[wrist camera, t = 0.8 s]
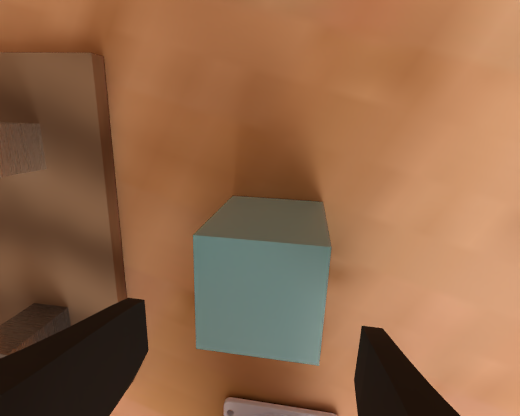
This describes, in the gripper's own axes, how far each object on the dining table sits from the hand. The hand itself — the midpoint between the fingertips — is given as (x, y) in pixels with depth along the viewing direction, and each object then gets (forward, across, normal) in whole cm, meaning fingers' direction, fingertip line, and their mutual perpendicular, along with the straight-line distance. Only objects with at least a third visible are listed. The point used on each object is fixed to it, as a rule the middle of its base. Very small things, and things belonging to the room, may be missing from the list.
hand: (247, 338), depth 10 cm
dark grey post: (+8, +15, +7) cm, 18 cm away
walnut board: (+9, +15, +1) cm, 17 cm away
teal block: (+9, 0, 0) cm, 9 cm away
